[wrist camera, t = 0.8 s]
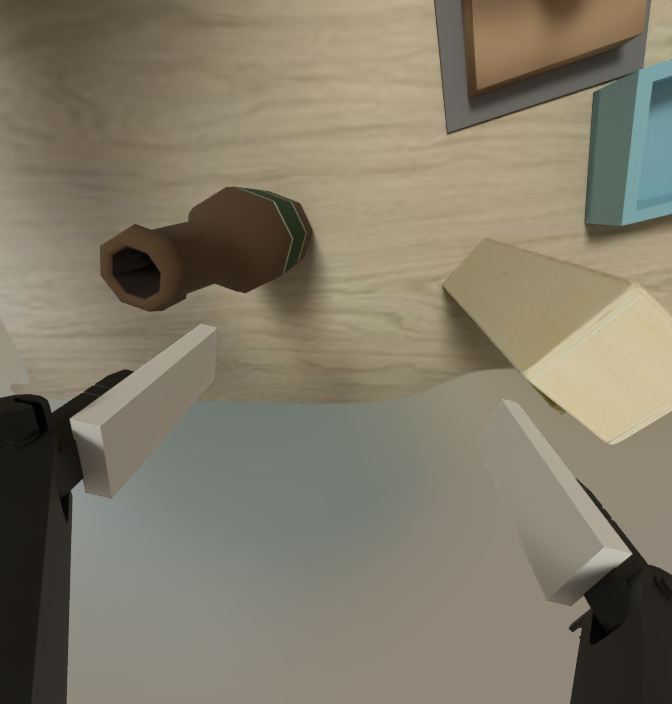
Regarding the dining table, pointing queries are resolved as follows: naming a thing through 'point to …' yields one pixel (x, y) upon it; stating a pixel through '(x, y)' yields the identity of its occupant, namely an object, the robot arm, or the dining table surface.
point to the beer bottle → (207, 249)
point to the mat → (525, 92)
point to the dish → (631, 149)
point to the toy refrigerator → (573, 335)
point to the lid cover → (540, 36)
